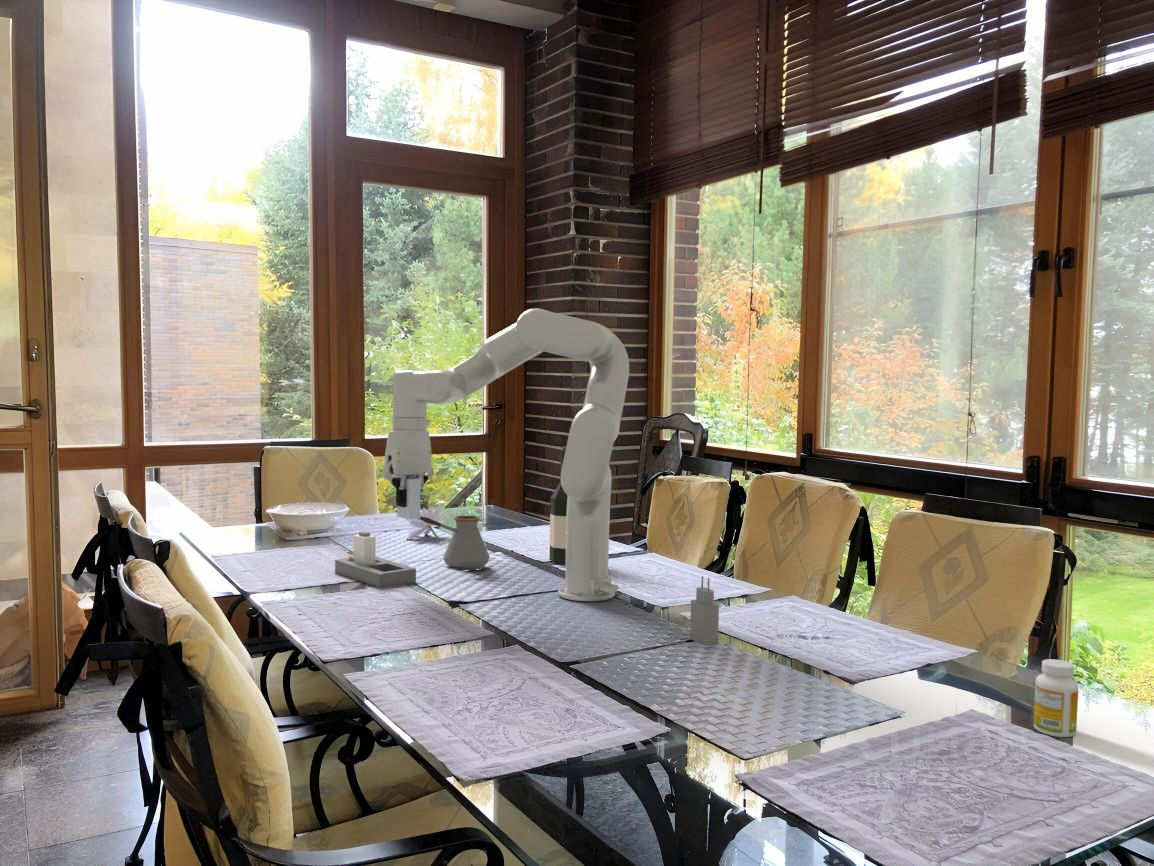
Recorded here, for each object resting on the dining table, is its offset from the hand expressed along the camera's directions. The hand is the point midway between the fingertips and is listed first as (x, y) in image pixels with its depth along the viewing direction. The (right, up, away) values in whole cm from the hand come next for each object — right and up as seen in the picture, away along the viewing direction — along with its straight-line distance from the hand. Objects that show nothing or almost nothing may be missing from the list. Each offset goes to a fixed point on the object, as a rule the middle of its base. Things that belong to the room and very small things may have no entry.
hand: (408, 505), depth 209 cm
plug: (0, -3, 0) cm, 3 cm away
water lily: (-6, -15, +62) cm, 64 cm away
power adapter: (+62, -22, -38) cm, 76 cm away
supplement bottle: (+106, -26, -79) cm, 135 cm away
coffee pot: (+6, -18, +18) cm, 26 cm away
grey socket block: (-9, -18, +5) cm, 21 cm away
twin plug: (-12, -17, +9) cm, 22 cm away
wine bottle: (+35, -17, +31) cm, 50 cm away
